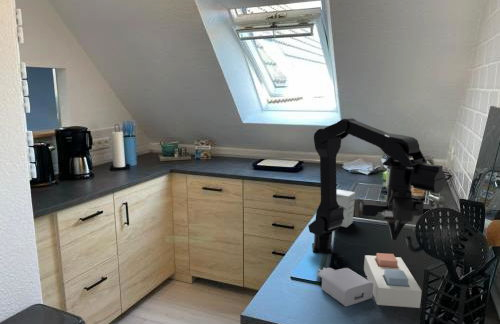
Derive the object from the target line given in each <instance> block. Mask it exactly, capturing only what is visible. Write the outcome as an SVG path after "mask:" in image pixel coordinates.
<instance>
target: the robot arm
mask: <svg viewBox="0 0 500 324" xmlns="http://www.w3.org/2000/svg"><path fill="white" fill-rule="evenodd" d="M349 135H351V136H352V137H355V138H357V139H359V140H362V141H363V142H367V143H369V144H371V145H373V146H376V147H378V148H379V149H380V150H381V151H382V152H383V153H384V154H385V155H386V156H388V159H386V160H385V161H383V162H382V166H386V167H389V174H388V175H389V176H388V184H387V186H386V187H387V193H386V195H387V196H386V199H385V203H386V204H378V203H377V201H376V200H372V199H371V200H370V199H362V200H361V201H360V203H359V211H360V213H361V215H362V216H365V217H376V216H377V215H379V213H380V215H381V217H382V218H383V219H384V220H386V222H387V226H388V230H389V233H390V236H391V237H390V238H391V240H392V241H396V240H397V239H398V237H399V236H400V233H401V231H402V230H403V228H404V227H405V226H406V224H408V223H409V222H410V223H411V222H413V220H414V218H415V217H420V216H421V215H422V214H424V213H425V212H426V211H428V210H430V209H433V208H434V207H433V206H432V205H431V204H429V203H424V202H423V201H421V200H413V198H412V195H413V194H412V193H413V191H412V187H413V188H414V189H416V190H421V191H425V192H427V193H433V194H440V193H441V192H442V191H443V189H444V187H445V185H446V177H445V176H446V175H445V172H444V171H443V165H438V164H429V163H428V162H427V160H426V158H425V156H424V154H423V152H422V150H421V149H420V144H419V140H417V138H415V137H413V136H407V135H402V134H396V133H395V134H394V133H388V132H387V131H383V130H381V129H378V128H377V127H374V126H370V125H368V124H365V123H364V122H361V121H358V120H356V119H355V118H351V117H349V118H342V119H340V120H339V121H337V122H335V123H332V124H331V125H329V126H326V127H324V128H319V129H317V130H316V131H315V132H314V134H313V143H314V149H315V151H316V152H317V154H318V156H319V168H320V169H319V170H320V171H319V175H320V176H319V177H320V179H319V180H320V202H319V205H318V206H317V209H316V212H315V219H314V220H313V221H312V222H311V223H310V224H309V225H308V230H309V231H308V232H309V233H311V234H313V235H314V237H313V243H312V244H311V246H312V247H311V248H312V252H313V253H321V254H334V248H333V245H332V243H333V232H335V231H338V230H339V227H341V226H340V225H341V224H342V222H343V220H344V216H343V212H344V208H343V207H340V206H339V205H338V203H337V155H338V153H339V152H340V149H341V147H342V146H341V144H342V140H344V139H345V138H347V137H349Z"/></svg>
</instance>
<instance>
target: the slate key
mask: <svg viewBox="0 0 500 324" xmlns="http://www.w3.org/2000/svg"><path fill="white" fill-rule="evenodd" d="M384 280H385V282H386V284H387V285H389V286H403V287H408V278H407V276H406V275H405V273H404V271H401V270H386V269H385V270H384Z"/></svg>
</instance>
